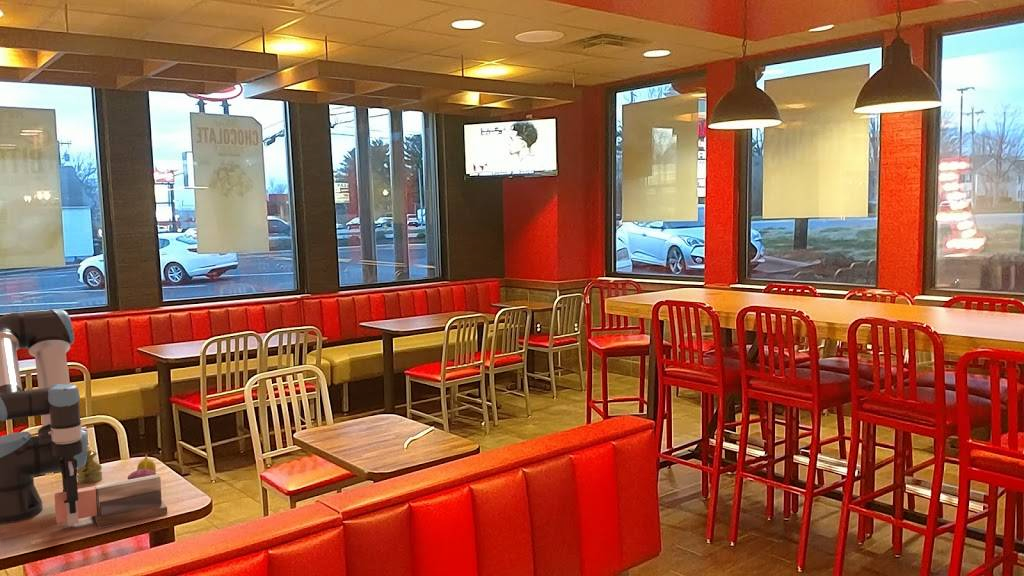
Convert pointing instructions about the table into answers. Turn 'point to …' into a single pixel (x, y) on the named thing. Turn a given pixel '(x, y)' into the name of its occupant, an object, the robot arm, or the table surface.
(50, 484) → the table surface
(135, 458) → the table surface
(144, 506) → the ticket holder
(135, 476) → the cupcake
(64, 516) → the stub
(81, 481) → the christmas tree figurine
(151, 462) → the lemon
